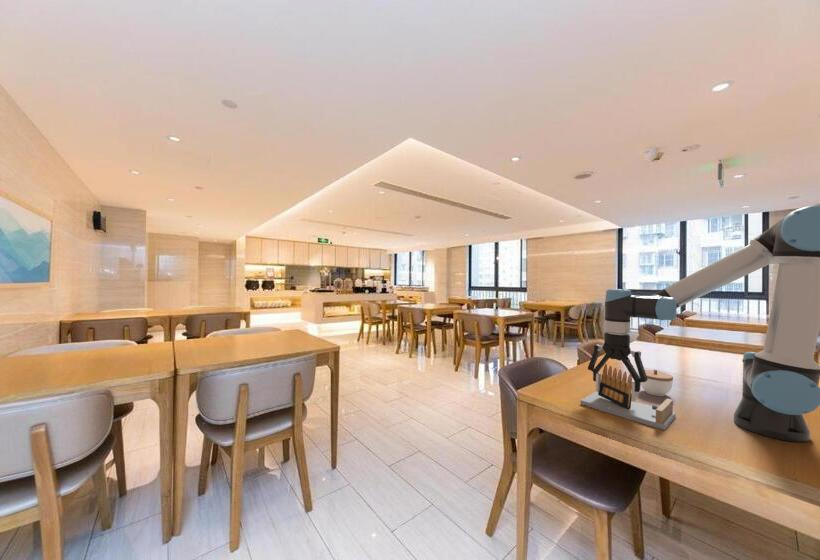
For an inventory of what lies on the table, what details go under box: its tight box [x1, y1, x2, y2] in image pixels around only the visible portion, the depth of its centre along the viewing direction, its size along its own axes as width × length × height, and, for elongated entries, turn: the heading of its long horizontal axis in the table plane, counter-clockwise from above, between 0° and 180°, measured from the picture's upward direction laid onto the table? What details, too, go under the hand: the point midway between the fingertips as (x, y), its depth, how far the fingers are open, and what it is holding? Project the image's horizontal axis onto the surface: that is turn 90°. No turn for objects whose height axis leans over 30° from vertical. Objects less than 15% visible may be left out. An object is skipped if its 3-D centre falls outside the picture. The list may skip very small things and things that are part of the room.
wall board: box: [580, 391, 676, 431], centre depth 107 cm, size 24×14×6 cm, turn 39°
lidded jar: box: [639, 369, 674, 397], centre depth 124 cm, size 11×11×9 cm
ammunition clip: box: [598, 363, 633, 409], centre depth 110 cm, size 11×2×12 cm, turn 21°
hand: (615, 395), depth 110 cm, fingers closed on ammunition clip, 10 cm apart
